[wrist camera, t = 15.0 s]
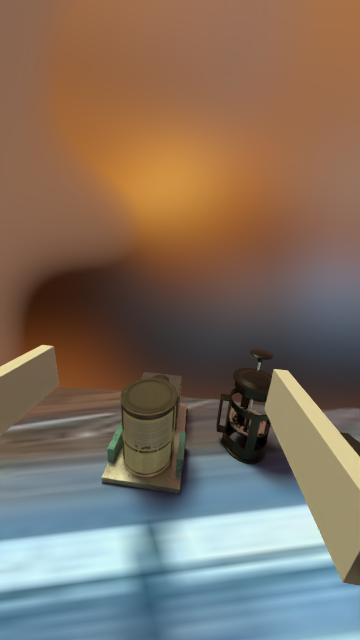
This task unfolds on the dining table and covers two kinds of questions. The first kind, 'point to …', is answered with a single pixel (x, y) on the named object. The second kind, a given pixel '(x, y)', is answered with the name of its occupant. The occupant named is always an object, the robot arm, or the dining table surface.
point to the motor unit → (172, 473)
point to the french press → (247, 412)
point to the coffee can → (148, 426)
